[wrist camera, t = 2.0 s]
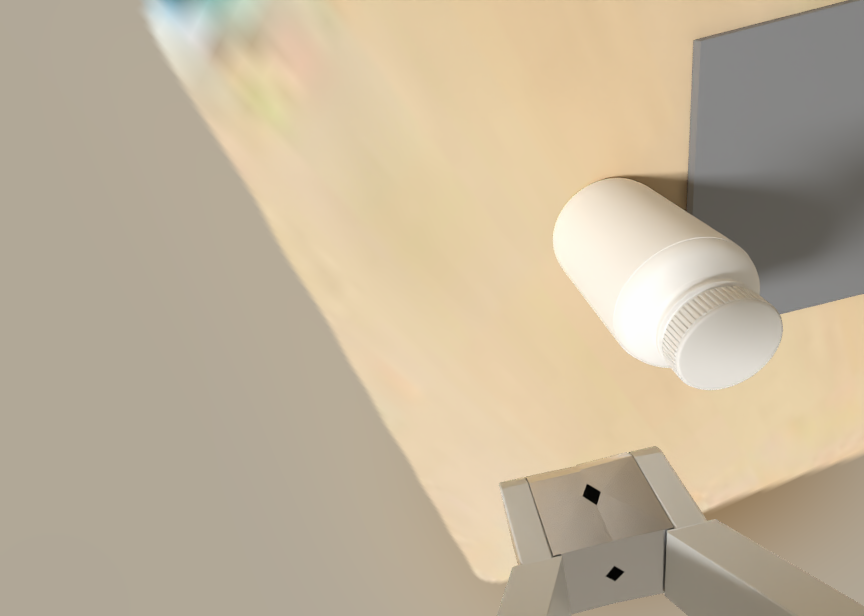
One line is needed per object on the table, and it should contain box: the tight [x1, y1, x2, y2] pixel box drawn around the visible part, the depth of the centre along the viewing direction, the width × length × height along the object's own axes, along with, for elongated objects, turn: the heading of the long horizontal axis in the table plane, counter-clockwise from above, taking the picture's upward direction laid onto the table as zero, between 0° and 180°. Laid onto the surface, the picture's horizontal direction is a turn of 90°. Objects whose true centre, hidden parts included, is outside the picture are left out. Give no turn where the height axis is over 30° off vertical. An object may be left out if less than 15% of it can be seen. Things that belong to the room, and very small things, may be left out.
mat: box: [687, 0, 864, 314], centre depth 37 cm, size 22×20×1 cm
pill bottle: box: [553, 178, 783, 390], centre depth 31 cm, size 8×8×15 cm
